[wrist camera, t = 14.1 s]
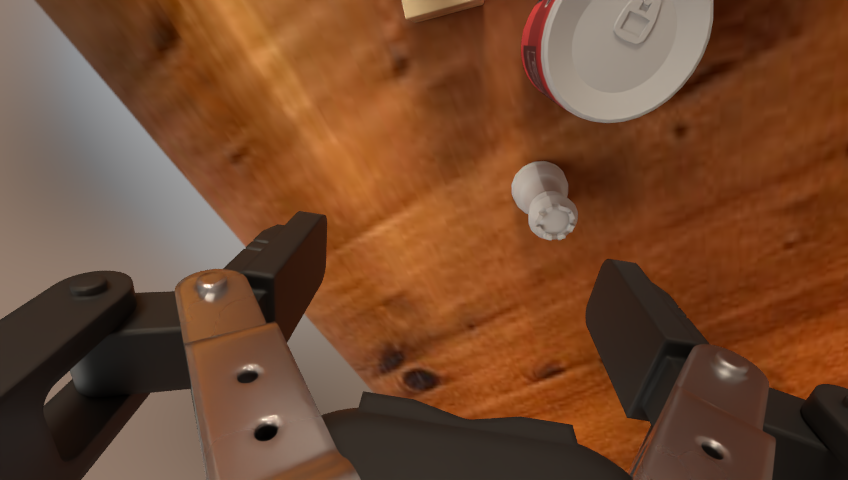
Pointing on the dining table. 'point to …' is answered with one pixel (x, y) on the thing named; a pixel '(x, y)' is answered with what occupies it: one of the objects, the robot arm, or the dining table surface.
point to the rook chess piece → (545, 200)
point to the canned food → (614, 53)
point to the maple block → (435, 8)
